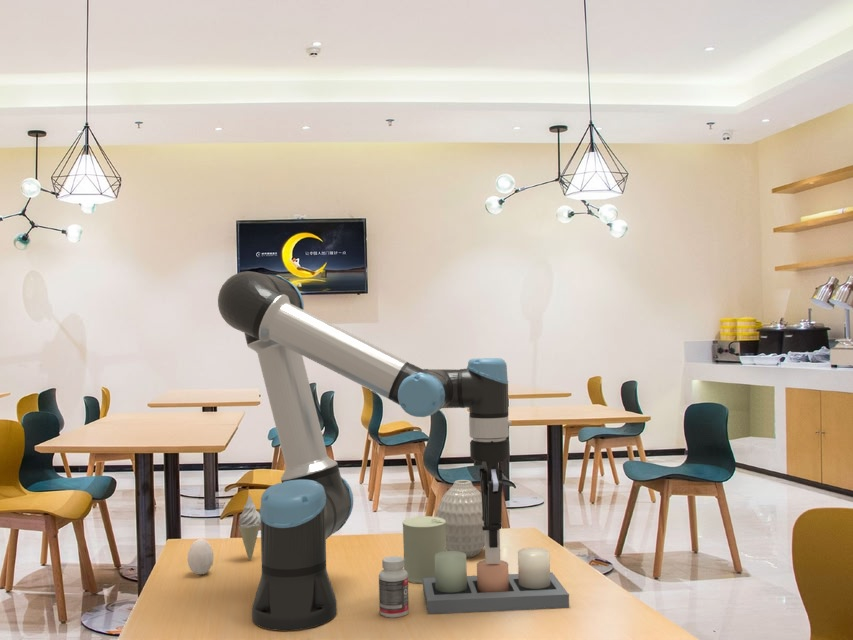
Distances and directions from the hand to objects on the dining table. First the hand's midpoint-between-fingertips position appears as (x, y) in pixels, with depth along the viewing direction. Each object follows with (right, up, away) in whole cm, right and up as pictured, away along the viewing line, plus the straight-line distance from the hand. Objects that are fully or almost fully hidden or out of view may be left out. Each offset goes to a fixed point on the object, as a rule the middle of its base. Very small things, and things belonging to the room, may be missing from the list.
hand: (492, 562), depth 143 cm
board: (0, -7, 0) cm, 7 cm away
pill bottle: (-19, -7, -6) cm, 21 cm away
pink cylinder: (0, -6, 0) cm, 6 cm away
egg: (-61, -9, +19) cm, 65 cm away
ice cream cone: (-53, -9, +28) cm, 61 cm away
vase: (-4, -8, +30) cm, 31 cm away
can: (-13, -8, +14) cm, 21 cm away
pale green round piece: (-8, -4, -1) cm, 9 cm away
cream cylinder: (+8, -4, 0) cm, 9 cm away
